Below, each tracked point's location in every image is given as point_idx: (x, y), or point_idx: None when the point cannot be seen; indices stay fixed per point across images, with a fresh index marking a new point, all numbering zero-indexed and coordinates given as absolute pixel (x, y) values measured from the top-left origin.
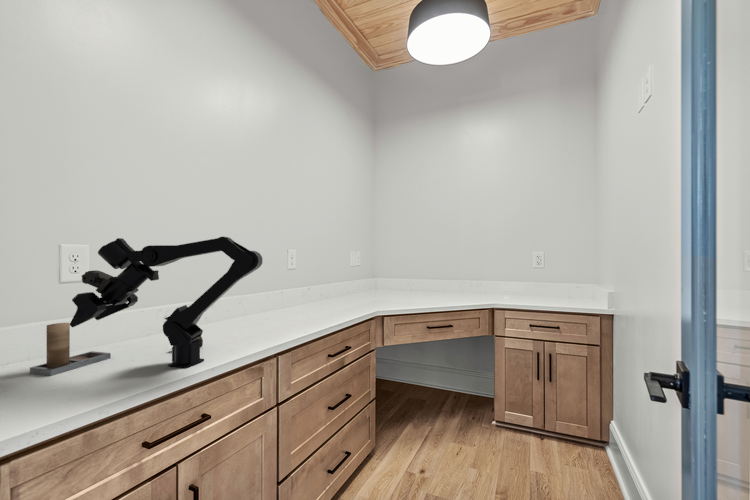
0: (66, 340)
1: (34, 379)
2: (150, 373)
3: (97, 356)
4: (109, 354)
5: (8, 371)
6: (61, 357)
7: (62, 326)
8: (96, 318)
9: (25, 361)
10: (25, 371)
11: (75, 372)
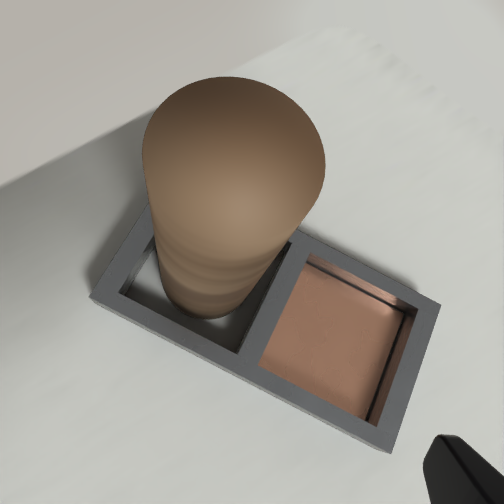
0: (205, 280)
1: (59, 256)
2: None
3: (322, 411)
4: (381, 449)
5: (232, 75)
6: (173, 291)
7: (178, 224)
8: (434, 459)
9: (374, 58)
10: None
11: (124, 402)
